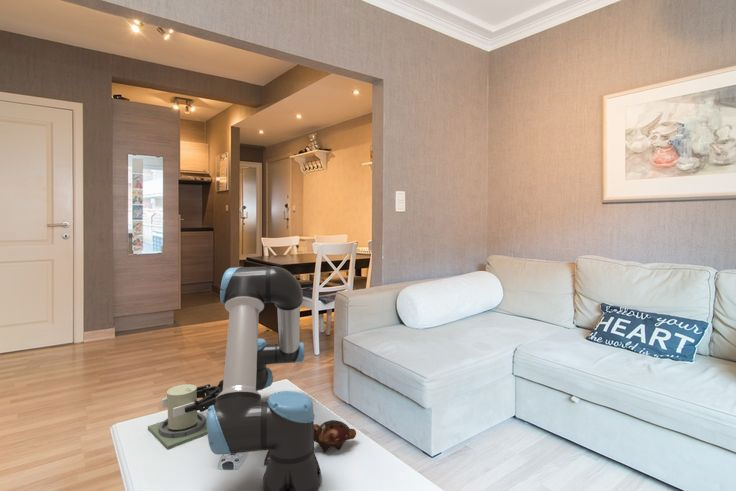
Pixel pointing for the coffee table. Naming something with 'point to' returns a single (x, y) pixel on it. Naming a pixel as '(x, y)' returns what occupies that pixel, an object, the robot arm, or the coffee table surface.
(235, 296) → the robot arm
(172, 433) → the deck mount
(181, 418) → the can
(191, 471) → the coffee table surface
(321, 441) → the decorative turtle
